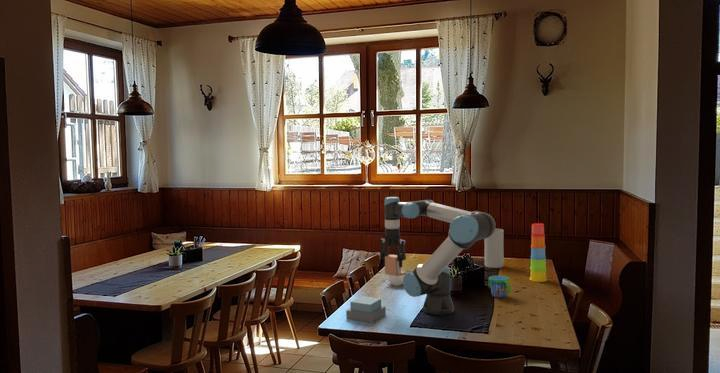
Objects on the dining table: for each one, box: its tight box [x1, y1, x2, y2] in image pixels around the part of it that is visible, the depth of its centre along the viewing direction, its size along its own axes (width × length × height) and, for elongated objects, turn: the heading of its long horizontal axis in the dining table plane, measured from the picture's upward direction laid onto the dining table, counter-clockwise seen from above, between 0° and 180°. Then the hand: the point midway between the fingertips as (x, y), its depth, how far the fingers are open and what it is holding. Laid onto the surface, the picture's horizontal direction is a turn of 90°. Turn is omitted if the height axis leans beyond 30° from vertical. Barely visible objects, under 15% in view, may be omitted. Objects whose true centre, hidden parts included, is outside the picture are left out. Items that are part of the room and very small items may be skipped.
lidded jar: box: [387, 269, 407, 287], centre depth 317 cm, size 11×11×9 cm
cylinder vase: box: [484, 228, 505, 269], centre depth 360 cm, size 12×12×25 cm
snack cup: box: [487, 275, 511, 298], centre depth 288 cm, size 16×10×10 cm
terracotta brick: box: [384, 254, 398, 276], centre depth 269 cm, size 6×6×9 cm
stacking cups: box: [529, 222, 548, 283], centre depth 321 cm, size 10×10×35 cm
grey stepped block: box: [345, 295, 386, 324], centre depth 257 cm, size 14×14×8 cm
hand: (393, 272), depth 269 cm, fingers closed on terracotta brick, 6 cm apart
